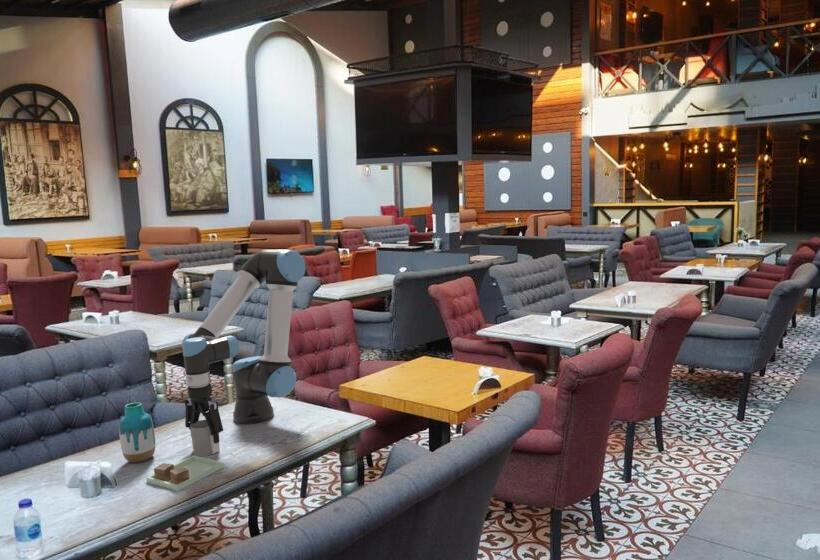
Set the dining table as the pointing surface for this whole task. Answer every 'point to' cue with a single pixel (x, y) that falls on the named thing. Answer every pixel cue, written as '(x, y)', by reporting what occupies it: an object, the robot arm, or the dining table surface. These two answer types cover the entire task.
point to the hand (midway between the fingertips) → (206, 449)
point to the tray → (190, 471)
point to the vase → (136, 434)
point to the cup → (201, 438)
